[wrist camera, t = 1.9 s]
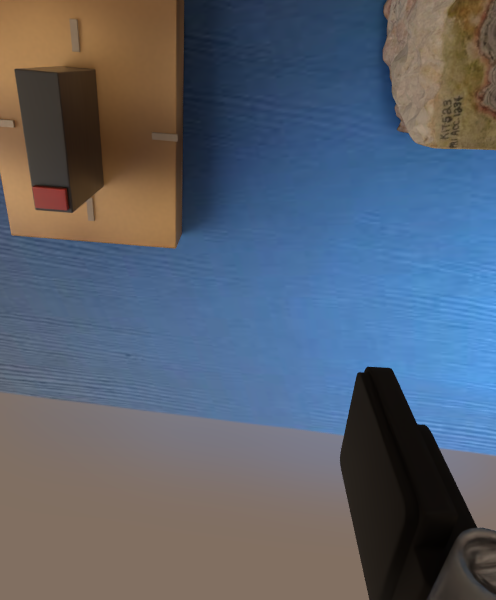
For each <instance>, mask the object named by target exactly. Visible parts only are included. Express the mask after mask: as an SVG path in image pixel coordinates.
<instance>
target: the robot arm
mask: <svg viewBox="0 0 496 600" xmlns="http://www.w3.org/2000/svg"><path fill="white" fill-rule="evenodd" d="M340 465H341V471H342V475H343V480H344V484H345V489H346V494H347V498H348V503H349V508H350V512H351V517H352V521H353V526H354V531H355V535H356V540H357V545H358V549H359V554H360V558H361V563H362V567H363V572H364V577H365V581H366V586H367V590H368V595H369V600H496V531H494V530H490V529H485V528H477V526H476V524H475V523H474V520H473V518H472V516H471V514H470V512H469V510H468V508H467V506H466V503H465V501H464V499H463V497H462V495H461V493H460V491H459V489H458V487H457V485H456V483H455V481H454V478H453V476H452V474H451V473H450V470H449V468H448V466H447V464H446V462H445V460H444V458H443V456H442V454H441V451H440V449H439V447H438V445H437V443H436V441H435V439H434V437H433V435H432V433H431V431H430V430H429V428H428V427H427V426H425V425H418V424H417V423H416V421H415V418H414V416H413V414H412V412H411V410H410V407H409V405H408V403H407V401H406V399H405V396H404V394H403V392H402V390H401V388H400V385H399V383H398V381H397V379H396V377H395V374H394V372H393V370H392V369H391V368H381V367H367V368H366V369H365V371H364V373H361V372H359V373H358V374H357V377H356V381H355V386H354V391H353V395H352V400H351V405H350V410H349V415H348V419H347V424H346V429H345V434H344V439H343V443H342V448H341V454H340Z"/></svg>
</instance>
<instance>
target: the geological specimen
mask: <svg viewBox="0 0 496 600" xmlns="http://www.w3.org/2000/svg"><path fill="white" fill-rule="evenodd" d="M383 13H384V16H385V17H386V19H387V20H388V25H387V39H386V42H385V45H384V48H383V60H384V62H385V63H386V64H387V65H388V66H389V69H390V79H391V82H392V94H393V98H394V100H395V102H396V106H395V112H396V115H397V117H399V118H400V120H401V122H400V125H399V127H398V129H397V130H398V131H400V132H406V133H409V135H410V136H411V138H412V139H413V141H414V142H416V143H418V144H421V145H423V146H427V147H431V148H441V149H484V150H496V0H387V2H386V3H385V5H384V11H383Z"/></svg>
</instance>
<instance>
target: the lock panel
mask: <svg viewBox="0 0 496 600" xmlns="http://www.w3.org/2000/svg"><path fill="white" fill-rule="evenodd" d="M53 66H66V67H77V68H88V69H95V70H96V84H97V97H98V111H99V125H100V138H101V152H102V166H103V179H104V187H103V188H101V189H100V190H99V191H98V192H97V193H96V194H94V195H93V196H92V197H91V198H90V199H88V200H87V201H86V202H85V203H84V204H83V205H81V206H80V207H79V208H78V209H77V210H76V211H74V212H73V213H66V212H54V211H42V210H35V205H34V199H33V192H32V185H31V179H30V172H29V165H28V159H27V152H26V145H25V138H24V132H23V125H22V118H21V112H20V105H19V98H18V92H17V85H16V78H15V72H14V69H16V68H35V67H53ZM183 69H184V0H0V173H1V179H2V184H3V190H4V195H5V201H6V206H7V212H8V217H9V223H10V229H11V234H12V235H16V236H28V237H40V238H53V239H65V240H77V241H90V242H102V243H115V244H127V245H139V246H152V247H164V248H176V247H177V244H178V242H179V240H180V237H181V235H182V170H183Z"/></svg>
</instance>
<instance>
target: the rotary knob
mask: <svg viewBox="0 0 496 600" xmlns="http://www.w3.org/2000/svg"><path fill="white" fill-rule="evenodd" d="M14 72H15V78H16V85H17V92H18V98H19V105H20V112H21V118H22V125H23V132H24V138H25V145H26V152H27V159H28V165H29V172H30V179H31V185H32V192H33V199H34V205H35V210H42V211H54V212H66V213H73V212H74V211H76V210H77V209H78V208H79V207H80V206H81V205H83V204H84V203H85V202H86V201H87V200H88V199H90V198H91V197H92V196H93V195H94V194H96V193H97V192H98V191H99V190H100V189H101V188H103V187H104V179H103V166H102V152H101V138H100V125H99V111H98V97H97V84H96V70H95V69H88V68H77V67H66V66H53V67H35V68H16V69H14Z"/></svg>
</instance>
